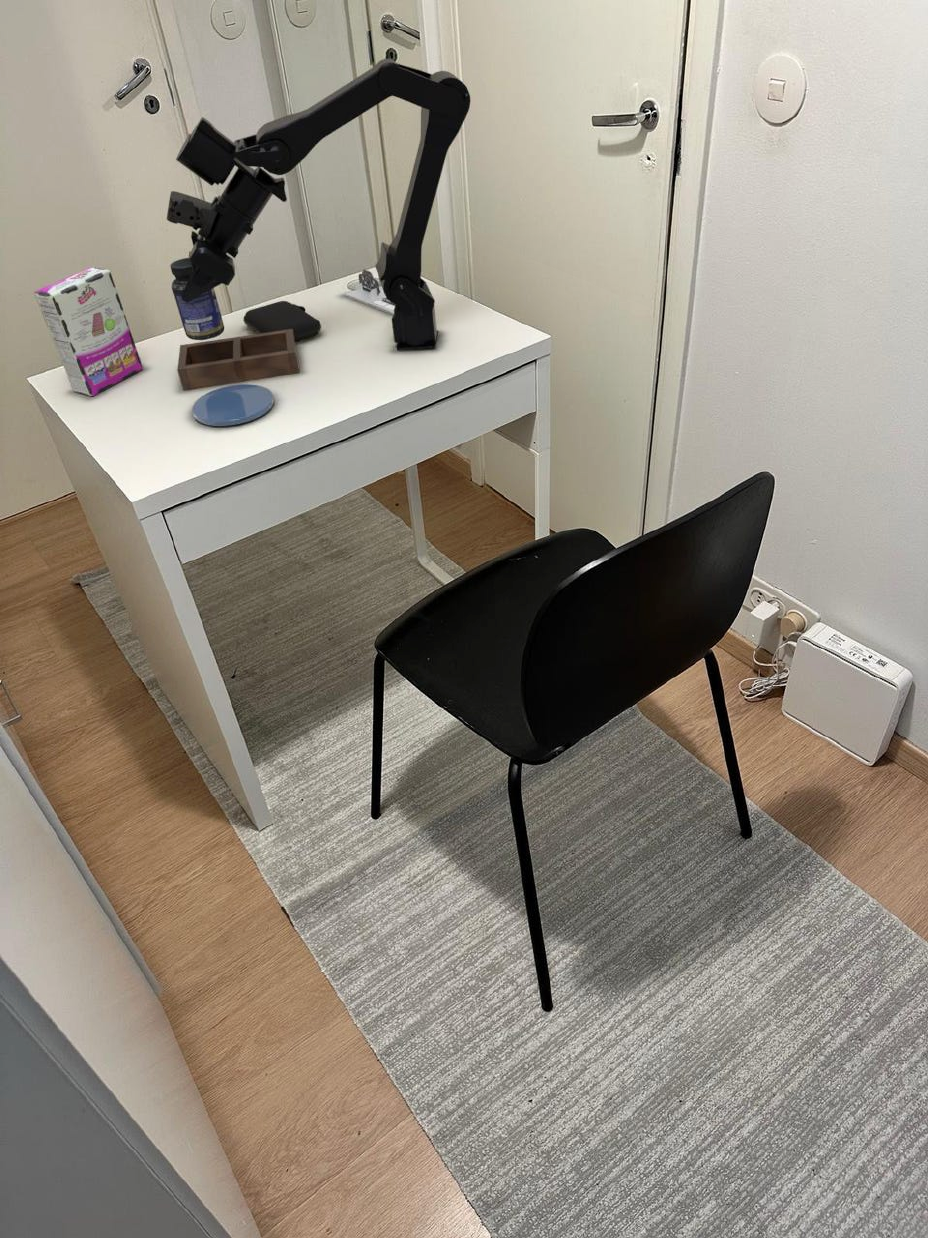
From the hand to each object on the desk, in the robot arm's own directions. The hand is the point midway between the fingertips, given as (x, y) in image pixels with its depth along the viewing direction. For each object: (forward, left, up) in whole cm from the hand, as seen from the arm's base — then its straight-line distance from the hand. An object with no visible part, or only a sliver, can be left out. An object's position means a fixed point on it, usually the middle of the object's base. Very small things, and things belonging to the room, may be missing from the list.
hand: (185, 293), depth 137 cm
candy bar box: (+16, +1, -13) cm, 21 cm away
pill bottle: (-1, 0, -7) cm, 7 cm away
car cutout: (-25, -29, -13) cm, 40 cm away
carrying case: (-9, -17, -13) cm, 23 cm away
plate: (-8, +12, -13) cm, 20 cm away
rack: (-5, -2, -13) cm, 14 cm away
